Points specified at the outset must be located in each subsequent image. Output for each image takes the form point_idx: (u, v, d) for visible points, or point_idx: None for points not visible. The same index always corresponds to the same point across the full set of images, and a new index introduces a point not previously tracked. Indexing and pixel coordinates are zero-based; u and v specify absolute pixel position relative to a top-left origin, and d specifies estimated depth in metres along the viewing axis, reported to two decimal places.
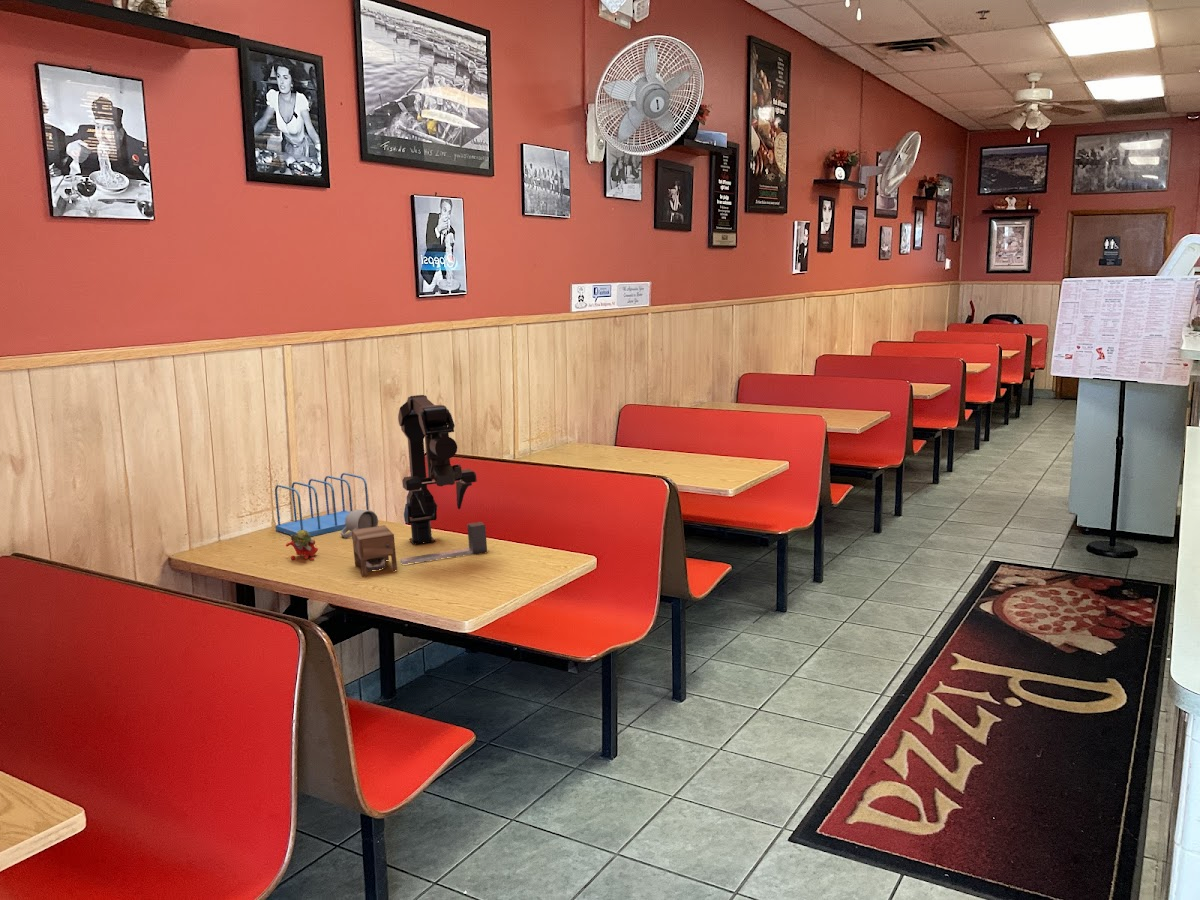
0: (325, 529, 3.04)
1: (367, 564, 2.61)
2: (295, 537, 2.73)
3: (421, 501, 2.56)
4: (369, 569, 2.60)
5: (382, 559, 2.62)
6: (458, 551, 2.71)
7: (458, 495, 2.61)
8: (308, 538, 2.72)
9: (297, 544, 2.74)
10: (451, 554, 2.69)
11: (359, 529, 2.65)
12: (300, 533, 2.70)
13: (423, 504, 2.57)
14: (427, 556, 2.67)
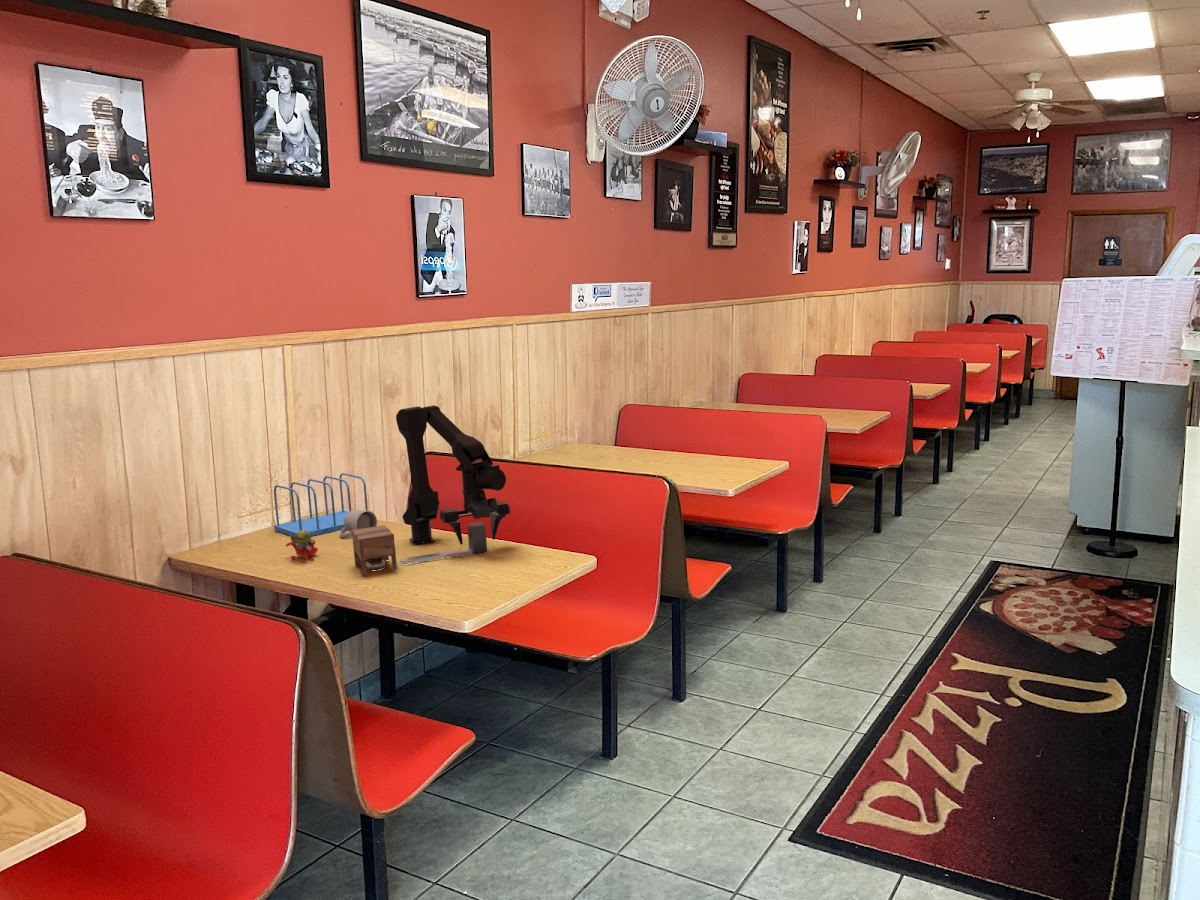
0: (324, 529, 3.04)
1: (367, 564, 2.61)
2: (295, 537, 2.73)
3: (458, 532, 2.69)
4: (369, 569, 2.60)
5: (382, 559, 2.62)
6: (458, 551, 2.71)
7: (492, 526, 2.74)
8: (308, 538, 2.72)
9: (297, 544, 2.74)
10: (451, 554, 2.69)
11: (359, 529, 2.65)
12: (300, 533, 2.70)
13: (460, 535, 2.70)
14: (427, 556, 2.67)
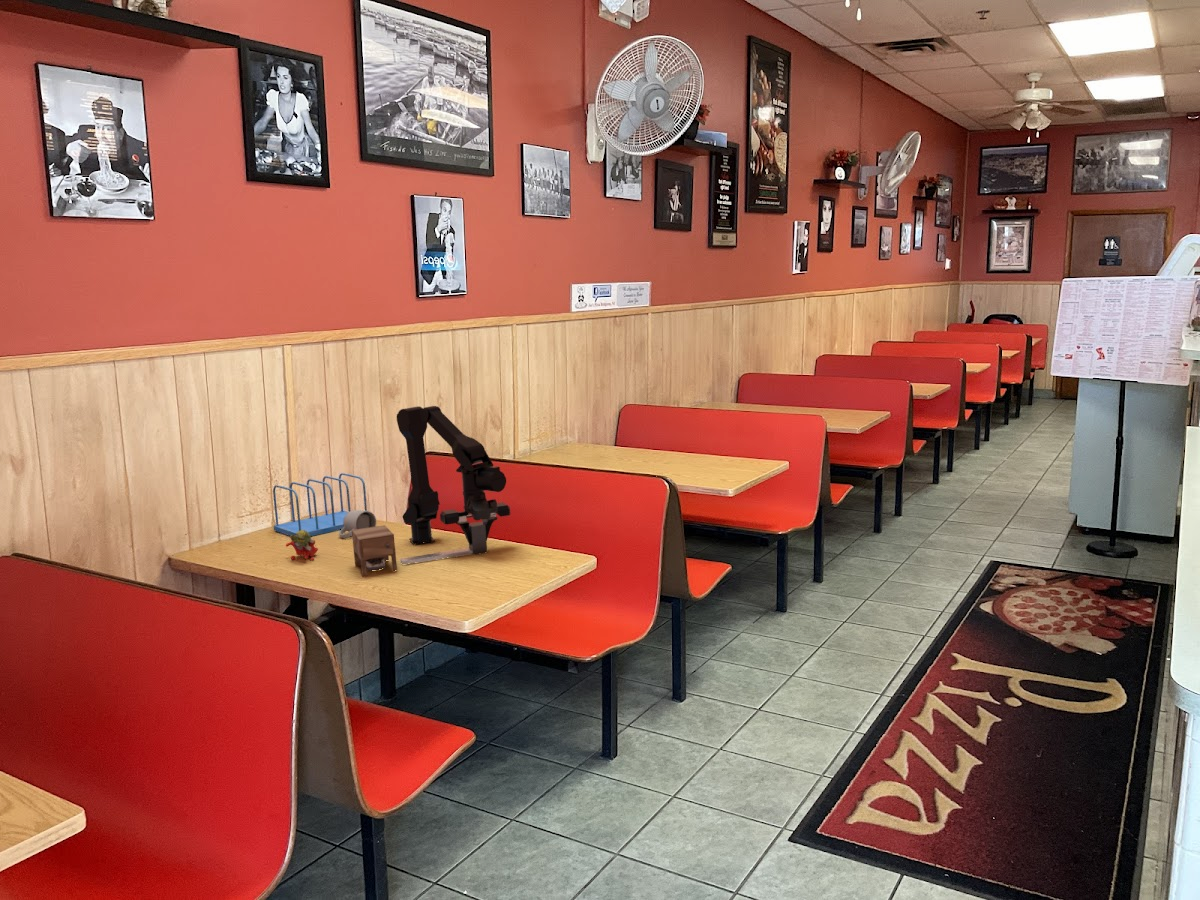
0: (323, 529, 3.04)
1: (367, 564, 2.61)
2: (295, 537, 2.73)
3: (466, 532, 2.70)
4: (369, 569, 2.60)
5: (382, 559, 2.62)
6: (458, 551, 2.71)
7: None
8: (308, 538, 2.72)
9: (297, 544, 2.74)
10: (451, 554, 2.69)
11: (359, 529, 2.65)
12: (300, 533, 2.70)
13: (468, 535, 2.71)
14: (427, 556, 2.67)
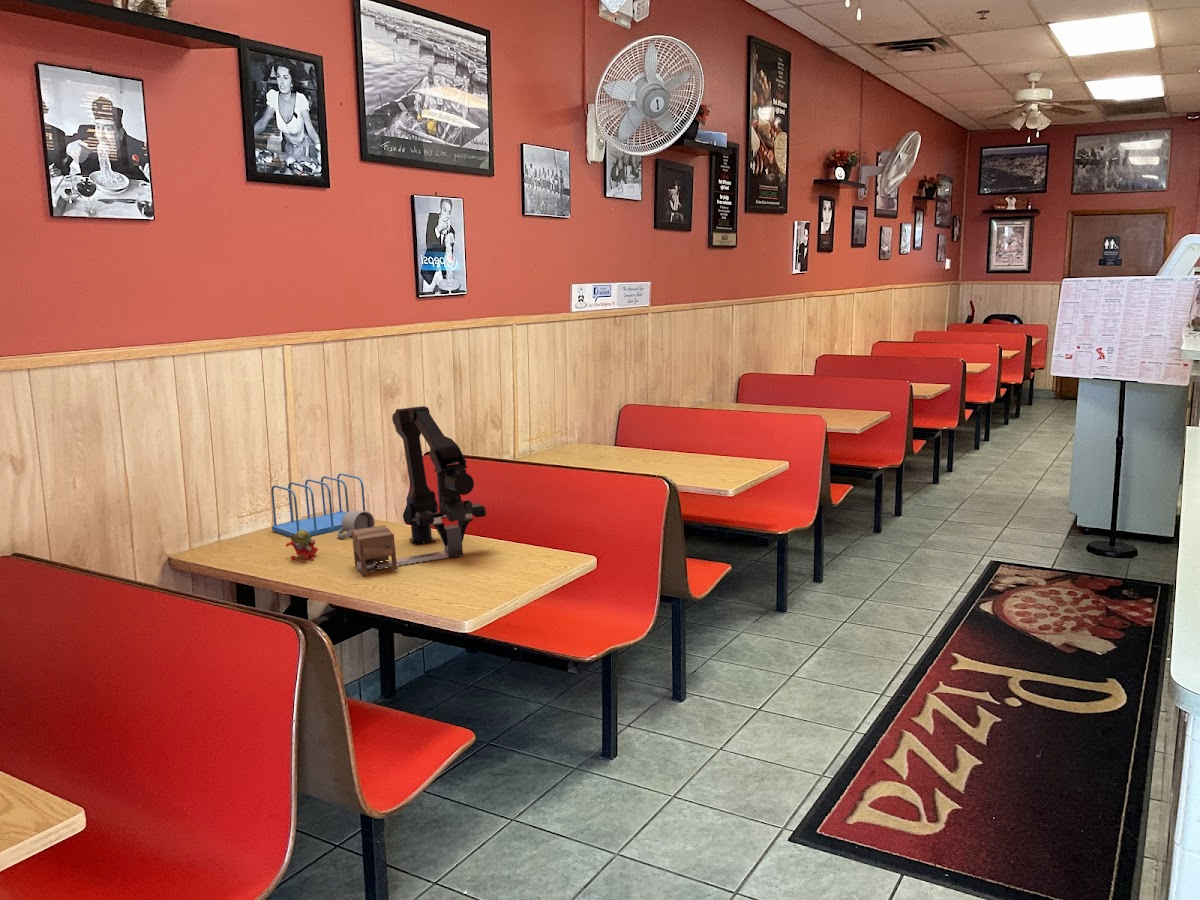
0: (321, 529, 3.04)
1: (358, 565, 2.59)
2: (295, 537, 2.73)
3: (442, 534, 2.67)
4: (360, 570, 2.59)
5: (373, 560, 2.61)
6: (433, 554, 2.68)
7: None
8: (308, 538, 2.72)
9: (297, 544, 2.74)
10: (426, 557, 2.66)
11: (359, 529, 2.65)
12: (300, 533, 2.70)
13: (443, 537, 2.68)
14: (402, 560, 2.65)
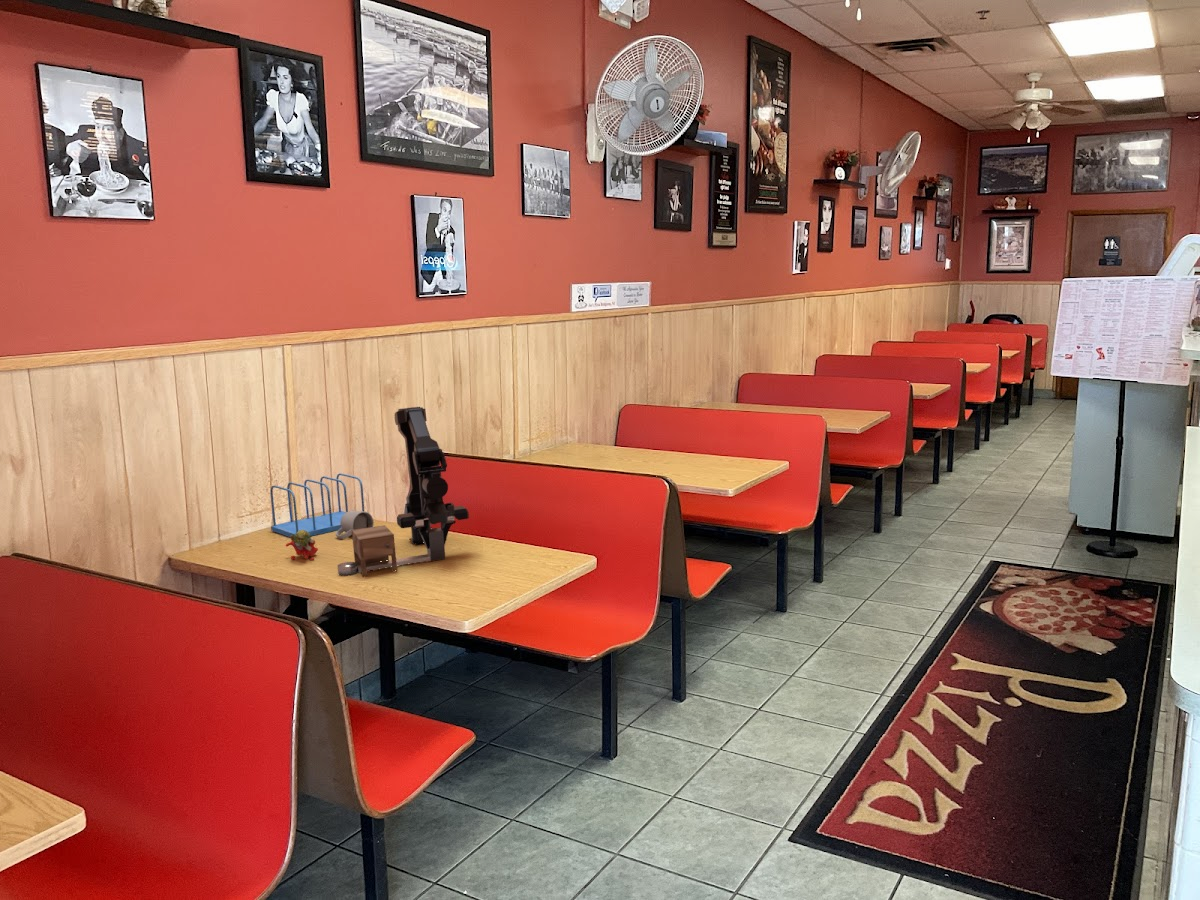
0: (320, 530, 3.03)
1: (339, 569, 2.58)
2: (295, 537, 2.73)
3: (424, 536, 2.65)
4: (341, 574, 2.57)
5: (354, 564, 2.59)
6: (416, 557, 2.66)
7: None
8: (308, 538, 2.72)
9: (297, 544, 2.74)
10: (408, 561, 2.64)
11: (359, 529, 2.65)
12: (300, 533, 2.70)
13: (426, 539, 2.66)
14: (383, 563, 2.63)
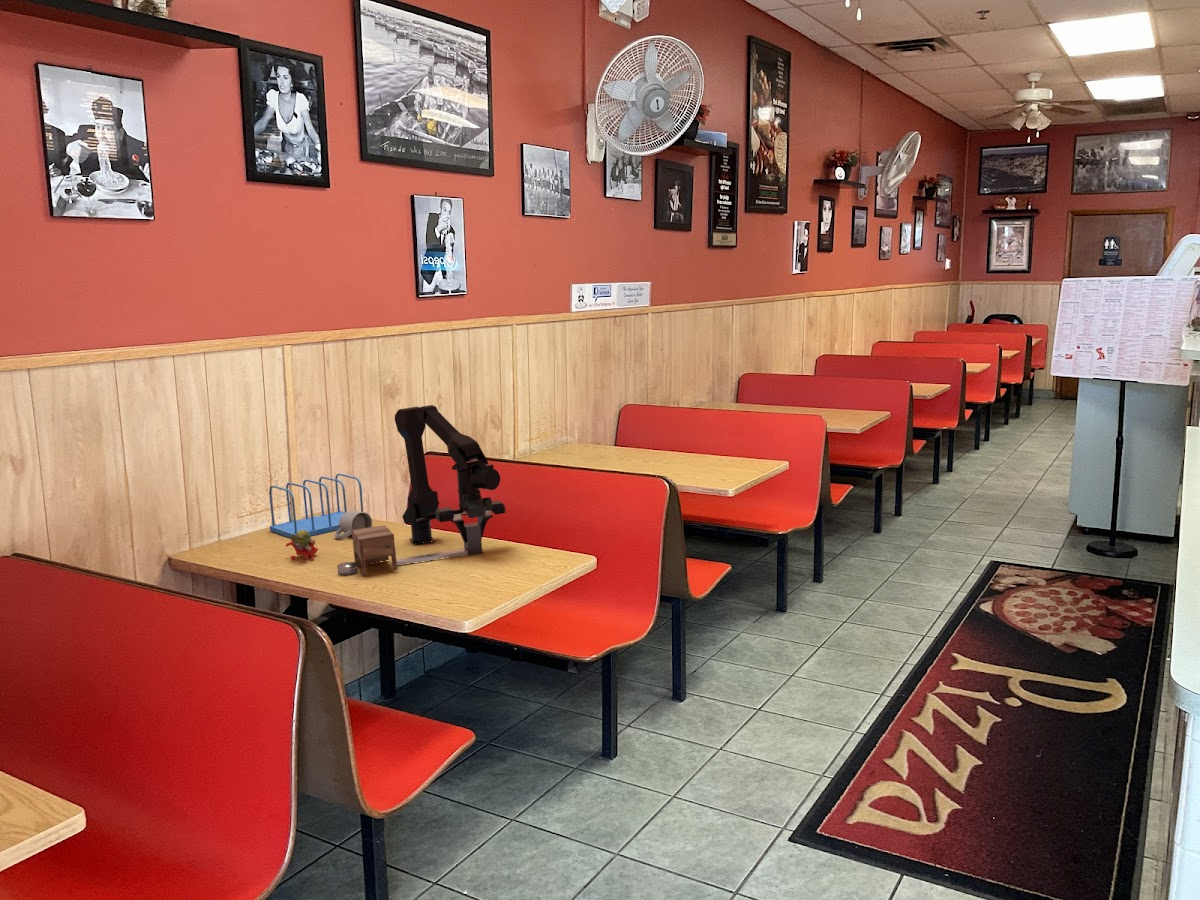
0: (319, 530, 3.03)
1: (339, 569, 2.58)
2: (295, 537, 2.73)
3: (461, 530, 2.69)
4: (341, 574, 2.57)
5: (354, 564, 2.59)
6: (453, 552, 2.70)
7: None
8: (308, 538, 2.72)
9: (297, 544, 2.74)
10: (446, 555, 2.68)
11: (359, 529, 2.65)
12: (300, 533, 2.70)
13: (463, 533, 2.70)
14: (422, 557, 2.67)
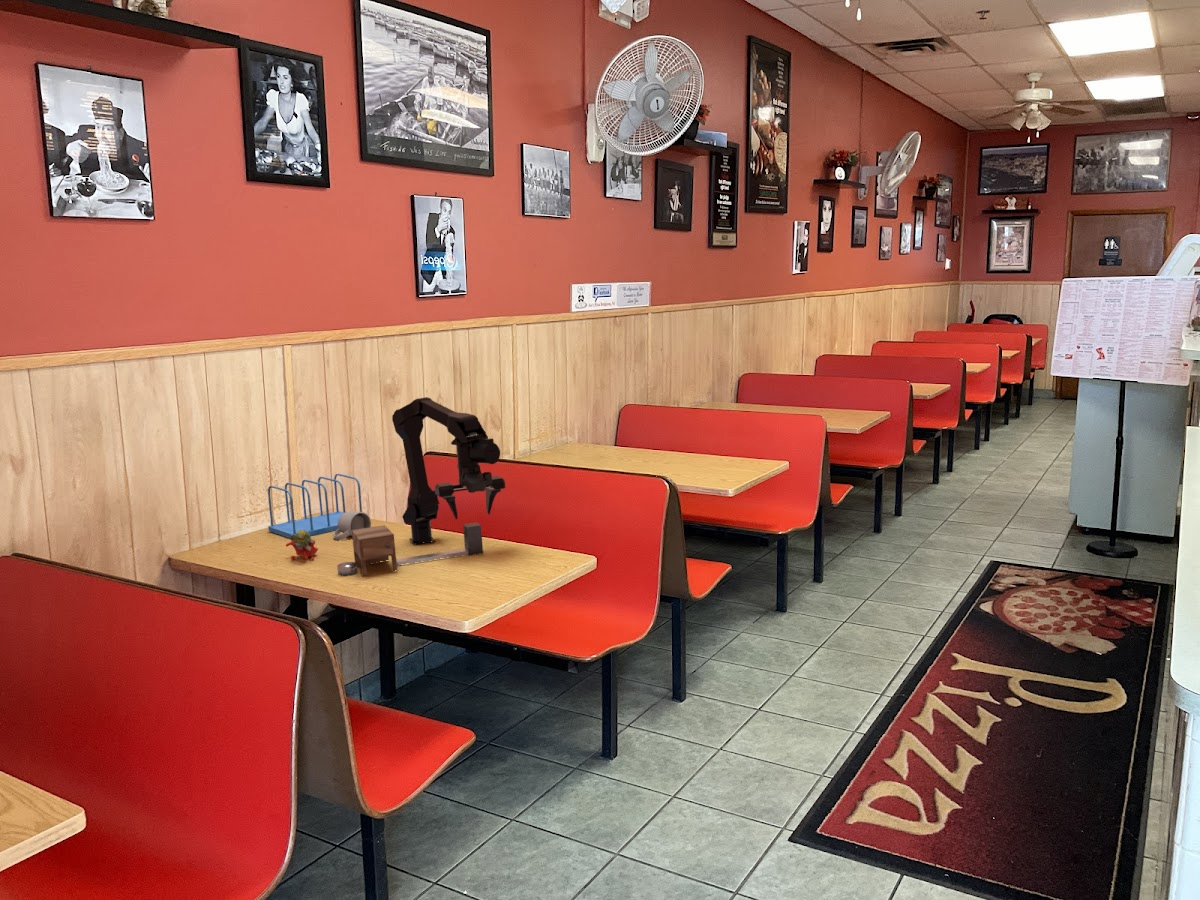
0: (318, 530, 3.03)
1: (339, 569, 2.58)
2: (295, 537, 2.73)
3: (453, 507, 2.67)
4: (341, 574, 2.57)
5: (354, 564, 2.59)
6: (454, 552, 2.70)
7: (488, 501, 2.72)
8: (308, 538, 2.72)
9: (297, 544, 2.74)
10: (447, 555, 2.69)
11: (359, 529, 2.65)
12: (300, 533, 2.70)
13: (454, 510, 2.68)
14: (422, 557, 2.67)
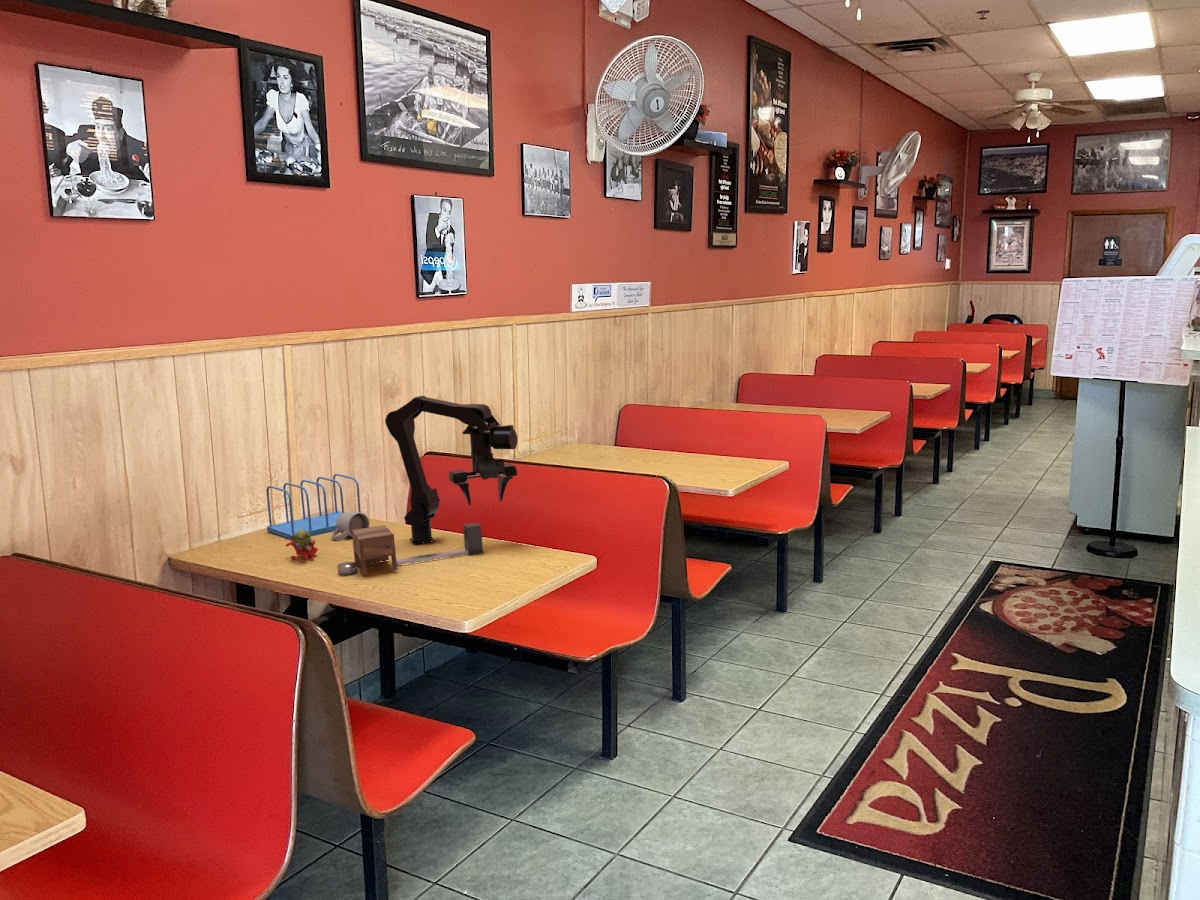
0: (316, 530, 3.03)
1: (339, 569, 2.58)
2: (295, 537, 2.73)
3: (466, 493, 2.76)
4: (341, 574, 2.57)
5: (354, 564, 2.59)
6: (454, 552, 2.70)
7: (500, 488, 2.81)
8: (308, 538, 2.72)
9: (297, 544, 2.74)
10: (447, 555, 2.69)
11: (359, 529, 2.65)
12: (300, 533, 2.70)
13: (468, 496, 2.76)
14: (422, 557, 2.67)
